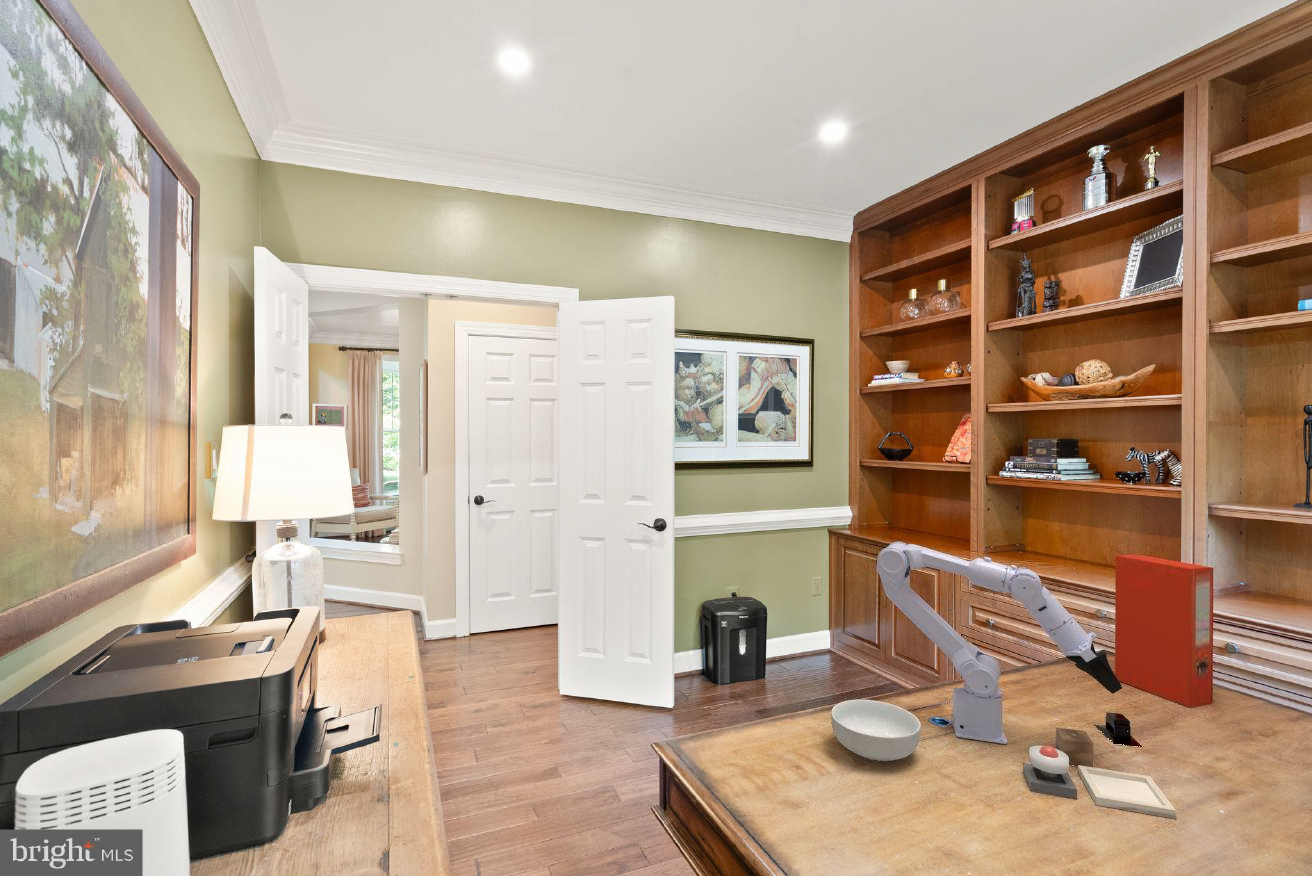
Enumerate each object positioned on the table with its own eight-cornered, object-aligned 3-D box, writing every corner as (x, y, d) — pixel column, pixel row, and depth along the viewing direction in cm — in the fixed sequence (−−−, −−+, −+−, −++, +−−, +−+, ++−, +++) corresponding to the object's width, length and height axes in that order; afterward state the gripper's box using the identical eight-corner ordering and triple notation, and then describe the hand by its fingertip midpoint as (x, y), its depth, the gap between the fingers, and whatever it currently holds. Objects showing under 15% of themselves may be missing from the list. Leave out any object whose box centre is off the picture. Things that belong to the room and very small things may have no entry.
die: (1062, 764, 120) (1062, 738, 120) (1055, 752, 124) (1055, 726, 124) (1093, 769, 118) (1093, 742, 118) (1085, 756, 122) (1085, 731, 122)
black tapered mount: (1153, 754, 124) (1153, 731, 124) (1110, 750, 126) (1110, 727, 126) (1123, 726, 136) (1123, 705, 136) (1084, 722, 138) (1085, 702, 138)
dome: (1033, 779, 111) (1033, 751, 111) (1026, 763, 116) (1026, 736, 116) (1072, 786, 109) (1072, 757, 109) (1064, 769, 114) (1064, 741, 114)
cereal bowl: (869, 781, 114) (869, 742, 114) (814, 740, 129) (814, 706, 129) (940, 763, 120) (940, 726, 120) (880, 726, 135) (880, 693, 135)
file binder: (1137, 676, 163) (1137, 553, 163) (1213, 703, 147) (1213, 566, 147) (1114, 680, 161) (1114, 555, 161) (1189, 707, 144) (1189, 569, 144)
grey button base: (1030, 790, 110) (1030, 781, 110) (1022, 770, 117) (1022, 762, 117) (1077, 798, 108) (1077, 789, 108) (1066, 778, 115) (1066, 769, 115)
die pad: (1096, 804, 106) (1096, 796, 106) (1078, 772, 116) (1078, 764, 116) (1175, 818, 102) (1175, 810, 102) (1150, 784, 113) (1150, 776, 113)
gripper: (1085, 617, 117) (1143, 683, 113) (1068, 608, 131) (1119, 666, 126) (1051, 638, 119) (1107, 703, 114) (1038, 626, 132) (1087, 685, 128)
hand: (1111, 685), depth 120 cm, fingers open, 7 cm apart
